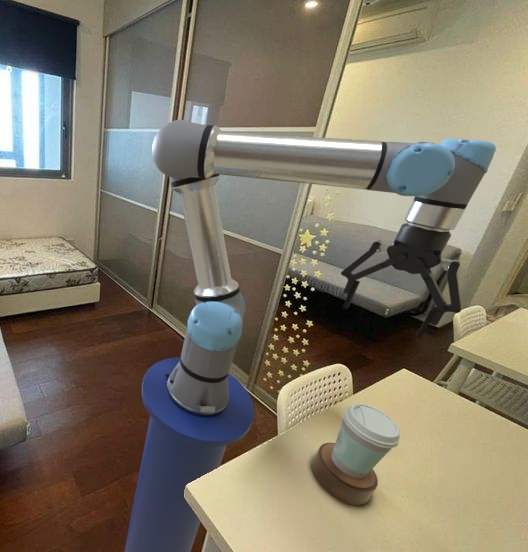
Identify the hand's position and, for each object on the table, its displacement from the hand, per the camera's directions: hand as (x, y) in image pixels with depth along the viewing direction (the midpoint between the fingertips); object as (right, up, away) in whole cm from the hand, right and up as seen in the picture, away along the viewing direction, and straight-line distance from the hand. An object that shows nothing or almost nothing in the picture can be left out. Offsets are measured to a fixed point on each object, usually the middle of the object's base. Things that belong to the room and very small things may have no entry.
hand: (379, 320), depth 70 cm
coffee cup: (-13, -27, -8) cm, 31 cm away
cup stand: (-13, -31, -7) cm, 34 cm away
